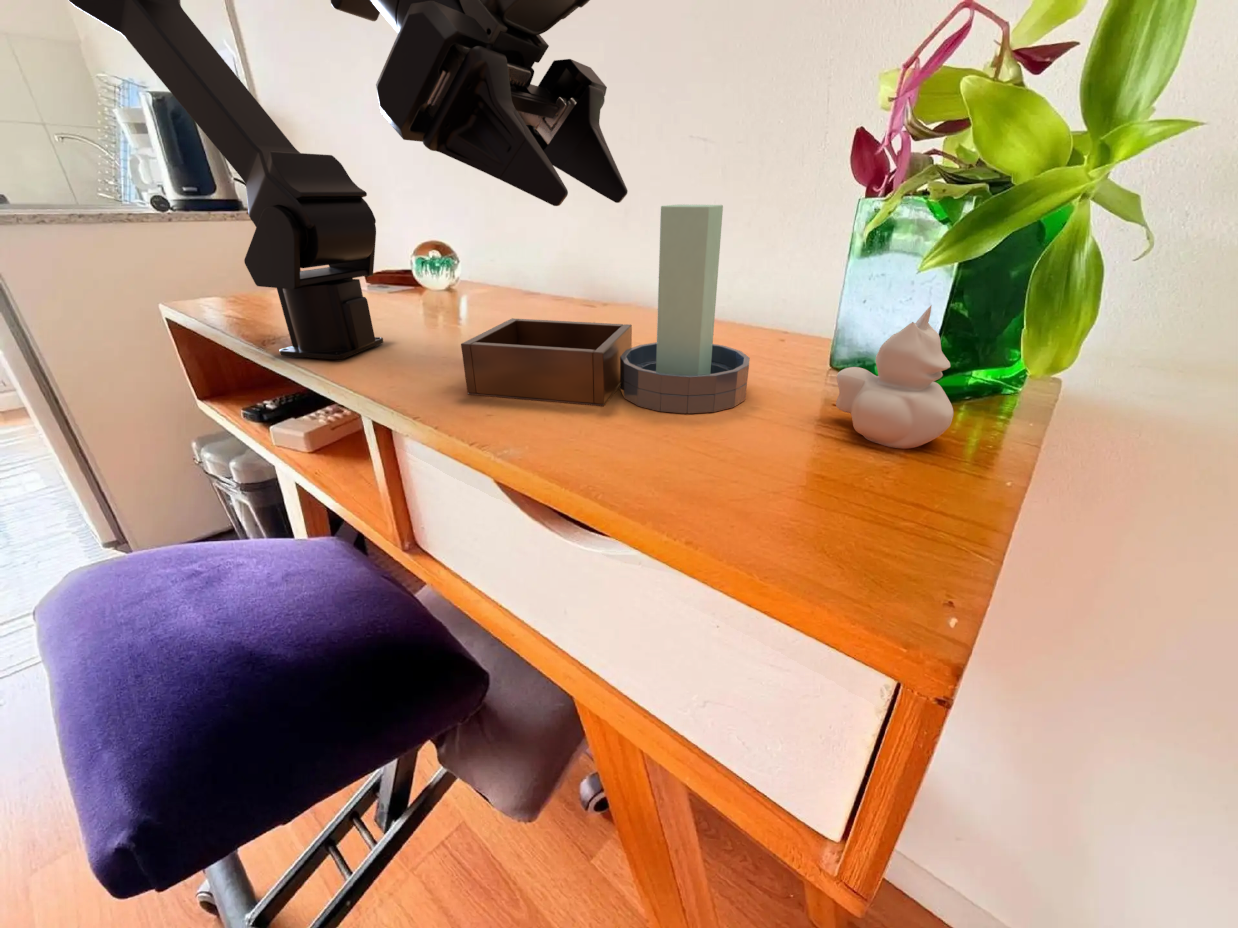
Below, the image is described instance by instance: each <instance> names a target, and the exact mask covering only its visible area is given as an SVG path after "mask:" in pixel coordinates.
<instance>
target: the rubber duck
mask: <svg viewBox="0 0 1238 928" xmlns="http://www.w3.org/2000/svg"><path fill="white" fill-rule="evenodd" d="M932 306H933V304H931V305H930V306H929V307H928V308H927V309H926V310H925V311H924V312H923V313H922V315H921V316H920V317H919V318H918V319H917V320H916V322H914V321H912V322H911V323H909V324H907V325H906V326H905V327H903V328H902V329H901V330H900V331H898V332H895V333H894V334H892V335H891V336H890V337H889V338H887V339H886V340H885V341H884V342H883V343H882V344H881V345H880V347H879V349H878V352H877V353H876V356H875V364H876V369H877V370H876V371H877V375H876V374H874V373H872V372H871V371H869V370H868V369H866V368H862V367H859V366H849V367H845V368H843V369H841V370H839V372H838V373H837V374H836V382H837V386H838V396H837V398H836V401H835V407H836V408H837V409H838V411H841V412H844V413H847V414H850V416H851V420H852V426H853V429H854V430H855V432H856V433H858V434H859V435H862V436H863V437H864V438H865V439H866V440H867V441H869V442H872V443H875V444H879V445H881V446H885V447H888V448H892V449H893V448H894V449H901V450H902V449H903V450H906V449H914V448H917V447H921V446H923V445H925V444H928V443H930V442H931V441H934V440H935V439H937V438H938V437H940V436H942V435H943V434H944V433H945V432H946V431H947V430H949V428H950V427H951V424H952V421H953V418H954V408H953V405H952V403H951V401H950V399H949V397H948V395H947V394H946V392H945V390H944V389H943V387H942V386H941V385H940V384H939V383H938V382H936V381H937V380H940V379H941V378H942V377H943V376H944V374H943V371H946V370H948V369H950V368H951V362H950V361H949V360H948V358H947V357H946V355H945V354H944V352H943V351H942V344H941V343H942V341H941V337H940V334H939V332H938V331H936V330H935V329H934V327H932V325H931V324H930V323H929V322H930V318H931V313H932Z"/></svg>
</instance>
